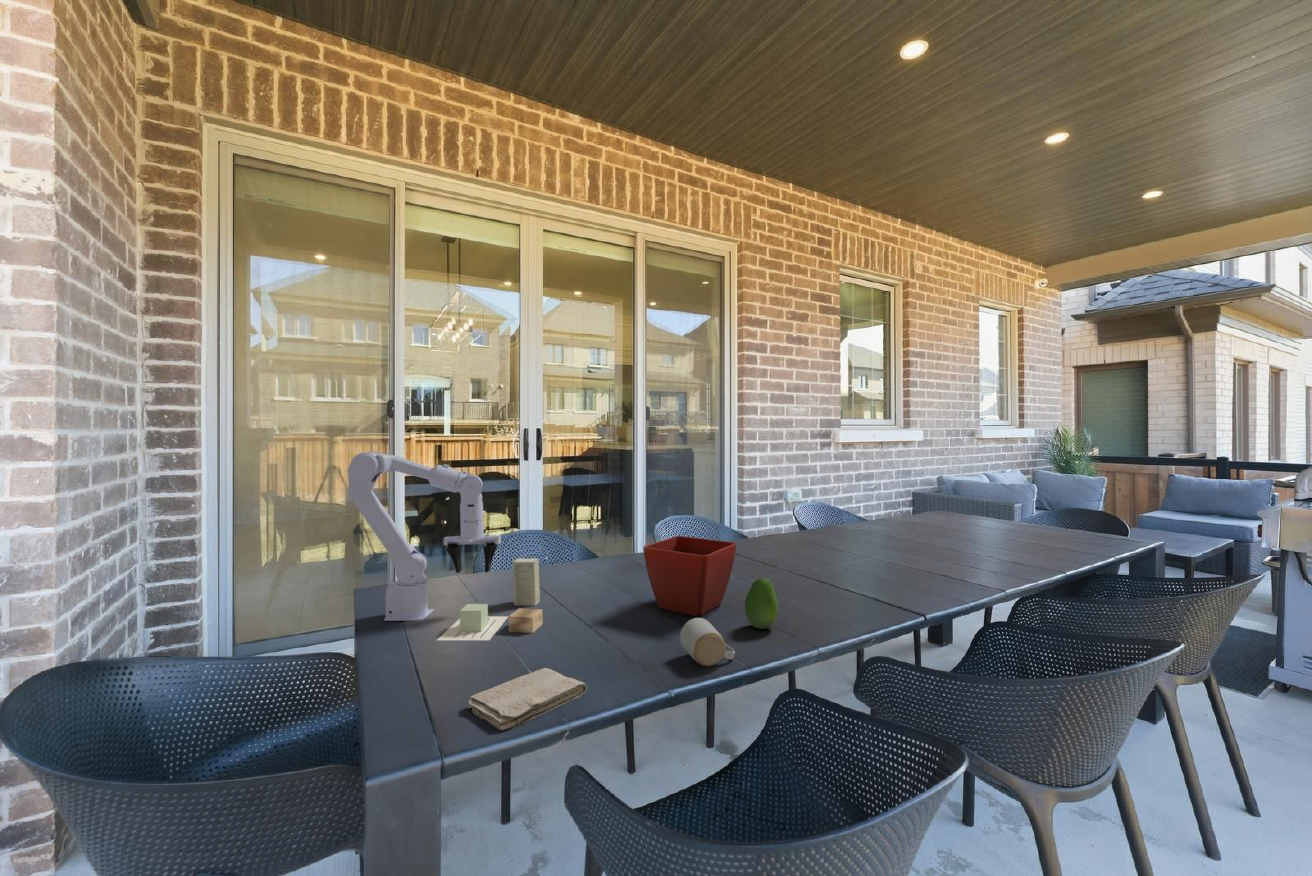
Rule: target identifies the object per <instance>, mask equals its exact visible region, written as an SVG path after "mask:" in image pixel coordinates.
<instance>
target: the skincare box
mask: <svg viewBox="0 0 1312 876" xmlns="http://www.w3.org/2000/svg"><path fill="white" fill-rule="evenodd" d="M512 579H513V582H512V583H513V605H514V606H528V607H529V606H530V607H531V606H533V607H535V606H537V605H538V604H539V602H540V601H541V597H540V596H541V594H540V593H541V592H540V590H541V589H540V587H541V586H540V560H539V557H537V558H536V557H535V558H533V557H532V558H530V557H529V558H527V557H523V558H521V557H519V558H516V559H515V560H513V561H512Z"/></svg>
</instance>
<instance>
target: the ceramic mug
mask: <svg viewBox="0 0 1312 876" xmlns="http://www.w3.org/2000/svg"><path fill="white" fill-rule="evenodd" d="M679 639H680V640H679V641H680V645H681V646H682V648H683V649H684V650H685V652H687V654H689V656H690V657H691V659H693V660H694V661H695V662H696V663H698V664H699V665H701V666H703V667H712V666H715V665H717V664H718V663H719V662H720V661H721V660H722V659H726V660H730V661H731V660H733V659H734V657H735V655H736V651H735V650H734V648H732V646H729V645H728V644H726V643H725V640H724V637H722V634H721V633H720V632H718V630H717V629H716V628H715V627H714V626H713V624H711V623H710V622H709V621H708V620H707V619H705V618H702V617H694V618H692V619H689V620H688V621H687V622H685V624H684V625H683V627H682V628H681V631H680V635H679Z"/></svg>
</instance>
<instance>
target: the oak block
mask: <svg viewBox="0 0 1312 876" xmlns="http://www.w3.org/2000/svg"><path fill="white" fill-rule="evenodd" d="M543 618H544V617H543V609H539V608H538V609H537V608H523V607H521V608H520V607H518V608H517V610H515V611H514V612H512V613H511V614H510V615H509V617H508V632H509V633H510V632H513V633H528V634H533V633H535V632H536V631H537V630H538V629H539V628H540V627H541V626H542V625H543V622H544V621H543Z"/></svg>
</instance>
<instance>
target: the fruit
mask: <svg viewBox="0 0 1312 876" xmlns="http://www.w3.org/2000/svg"><path fill="white" fill-rule="evenodd" d="M778 603H779V602H778V599H777V595H776V592H775V588H774V585H773V583H772V581H771V580H770V579H769V578H766V577H765V578H764V577H760V578H757V579H756V580H755V581H754V582H753V583H752V584H751V587H750V588H749V591H748V593H747V594H746V597H745V600H744V612H745V615H746V618H747V621H749V623H750V624H751V625H752V626H753V627H754V628H756V629H758V630H767V629H768V628H770V627H771V626H772V625H774V623H775V622H776V620H777V616H778V612H779V604H778Z"/></svg>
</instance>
